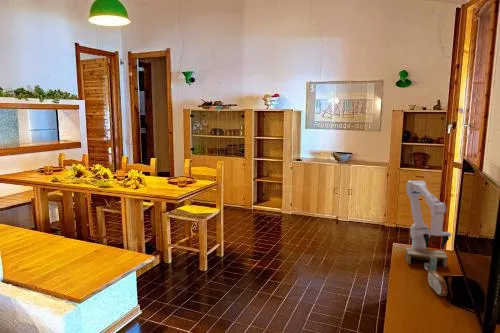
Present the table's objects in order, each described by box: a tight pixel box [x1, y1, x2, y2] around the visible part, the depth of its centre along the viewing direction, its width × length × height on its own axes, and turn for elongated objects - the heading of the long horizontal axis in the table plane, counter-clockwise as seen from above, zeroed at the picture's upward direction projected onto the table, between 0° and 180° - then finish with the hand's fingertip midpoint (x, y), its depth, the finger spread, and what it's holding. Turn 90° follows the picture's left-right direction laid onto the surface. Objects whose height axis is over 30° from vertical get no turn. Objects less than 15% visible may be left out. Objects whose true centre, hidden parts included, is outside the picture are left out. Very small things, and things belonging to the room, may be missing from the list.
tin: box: [427, 270, 448, 297], centre depth 177 cm, size 15×3×8 cm, turn 179°
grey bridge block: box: [404, 247, 449, 269], centre depth 208 cm, size 9×20×6 cm, turn 76°
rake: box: [423, 256, 438, 273], centre depth 196 cm, size 11×4×10 cm, turn 166°
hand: (434, 247), depth 203 cm, fingers open, 7 cm apart
